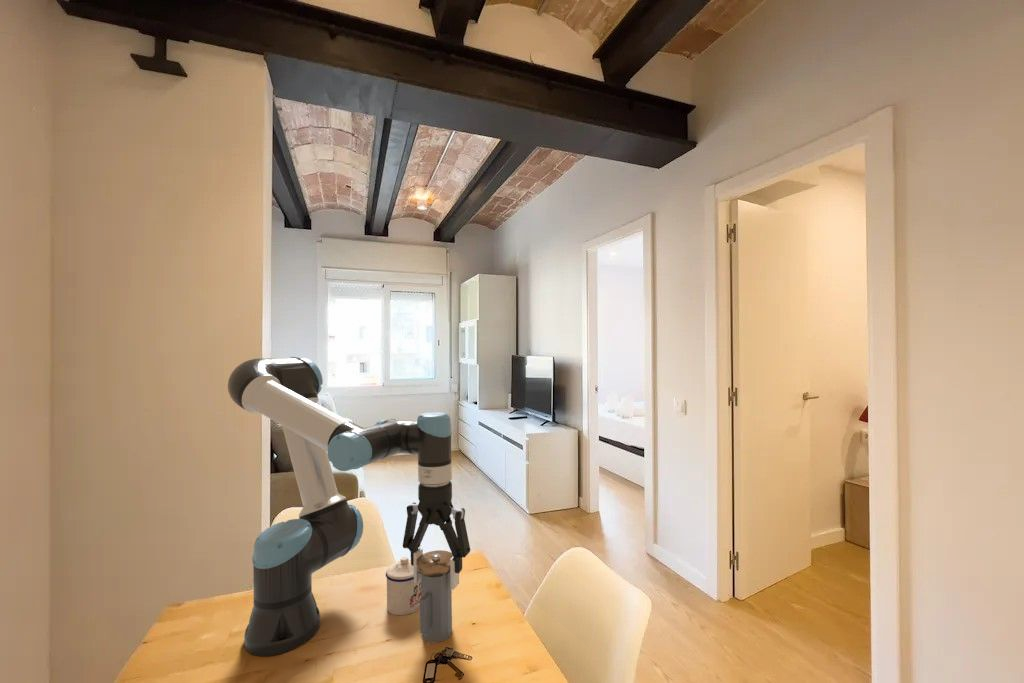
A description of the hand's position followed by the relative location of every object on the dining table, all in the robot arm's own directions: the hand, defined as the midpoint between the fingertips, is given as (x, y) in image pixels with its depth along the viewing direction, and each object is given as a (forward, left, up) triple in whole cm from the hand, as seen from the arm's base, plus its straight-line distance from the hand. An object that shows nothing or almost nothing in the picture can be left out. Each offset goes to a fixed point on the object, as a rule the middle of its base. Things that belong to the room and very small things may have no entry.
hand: (436, 582), depth 97 cm
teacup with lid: (-13, +8, -11) cm, 19 cm away
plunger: (0, 0, -8) cm, 8 cm away
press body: (0, -1, -11) cm, 11 cm away
